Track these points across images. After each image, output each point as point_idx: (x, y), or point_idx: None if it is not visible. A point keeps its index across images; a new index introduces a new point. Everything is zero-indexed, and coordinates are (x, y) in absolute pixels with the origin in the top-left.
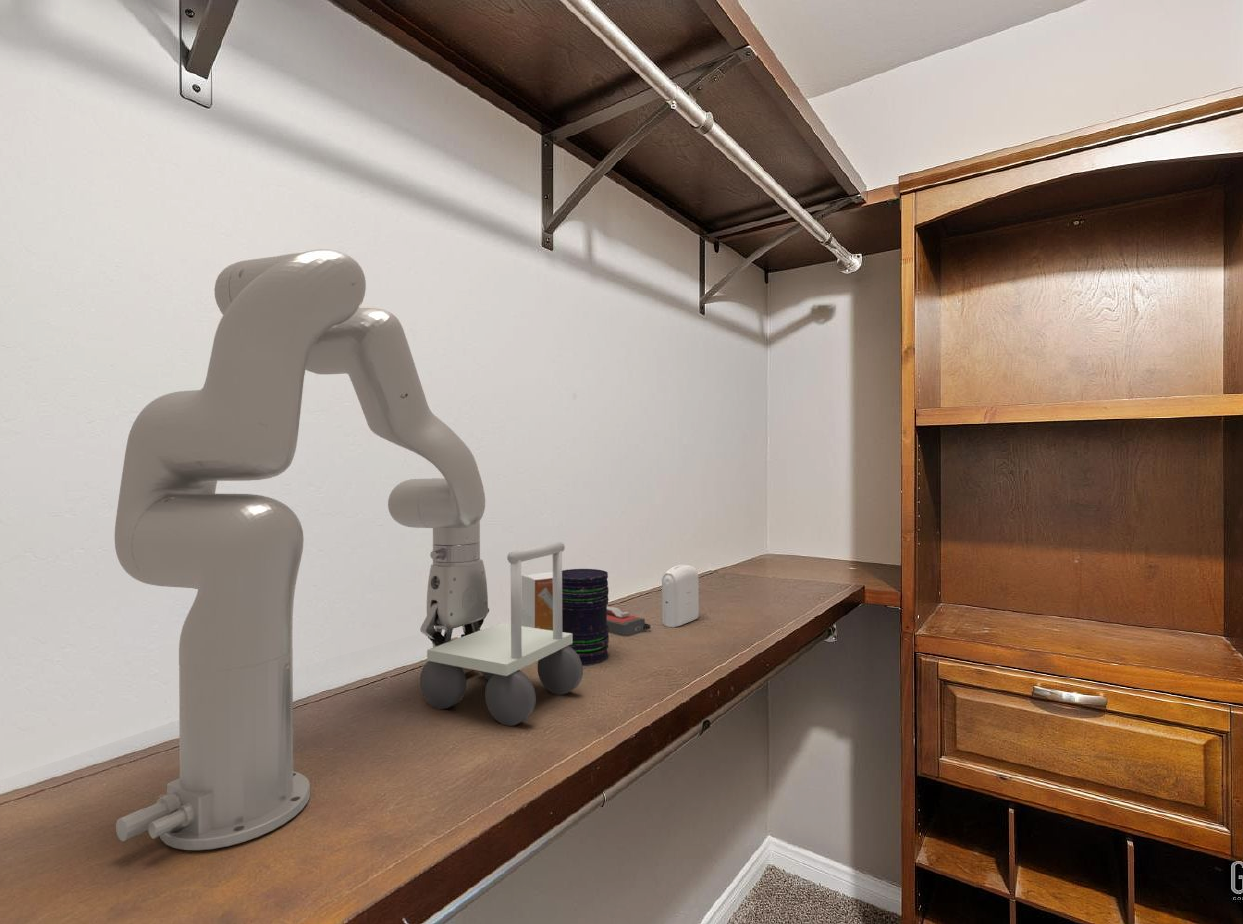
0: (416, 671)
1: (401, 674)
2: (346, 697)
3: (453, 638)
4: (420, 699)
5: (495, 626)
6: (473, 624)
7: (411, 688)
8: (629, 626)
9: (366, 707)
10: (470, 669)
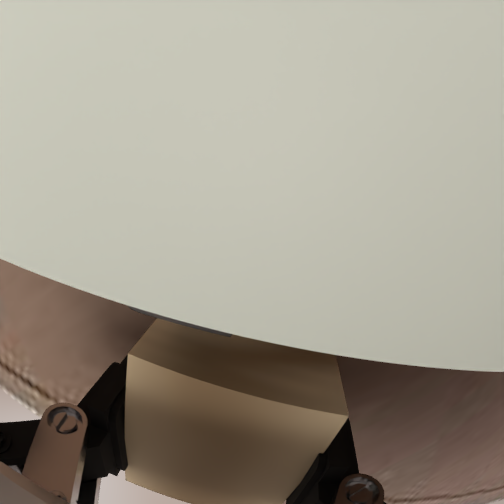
0: None
1: None
2: (436, 481)
3: (147, 486)
4: None
5: (85, 189)
6: (74, 484)
7: (390, 423)
8: None
9: (497, 420)
10: None
